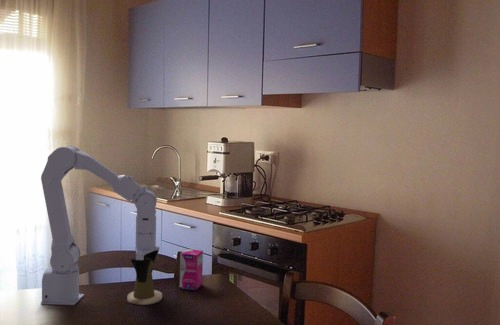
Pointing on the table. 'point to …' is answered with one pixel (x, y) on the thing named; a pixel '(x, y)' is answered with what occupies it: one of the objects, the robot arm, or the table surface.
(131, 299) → the coaster
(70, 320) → the table surface
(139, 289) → the cork
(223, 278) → the table surface
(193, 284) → the supplement box
